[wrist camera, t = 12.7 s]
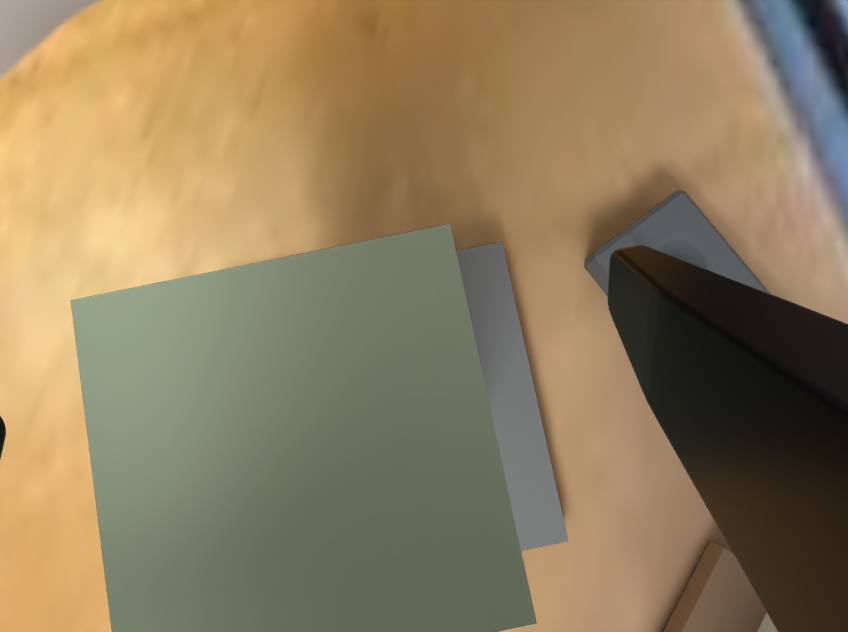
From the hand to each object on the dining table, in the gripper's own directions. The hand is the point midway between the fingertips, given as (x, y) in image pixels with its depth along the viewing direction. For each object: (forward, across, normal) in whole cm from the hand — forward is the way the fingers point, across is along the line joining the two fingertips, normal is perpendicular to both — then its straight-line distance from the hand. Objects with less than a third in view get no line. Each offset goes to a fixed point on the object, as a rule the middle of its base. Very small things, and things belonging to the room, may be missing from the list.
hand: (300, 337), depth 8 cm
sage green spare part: (+7, 0, +9) cm, 12 cm away
